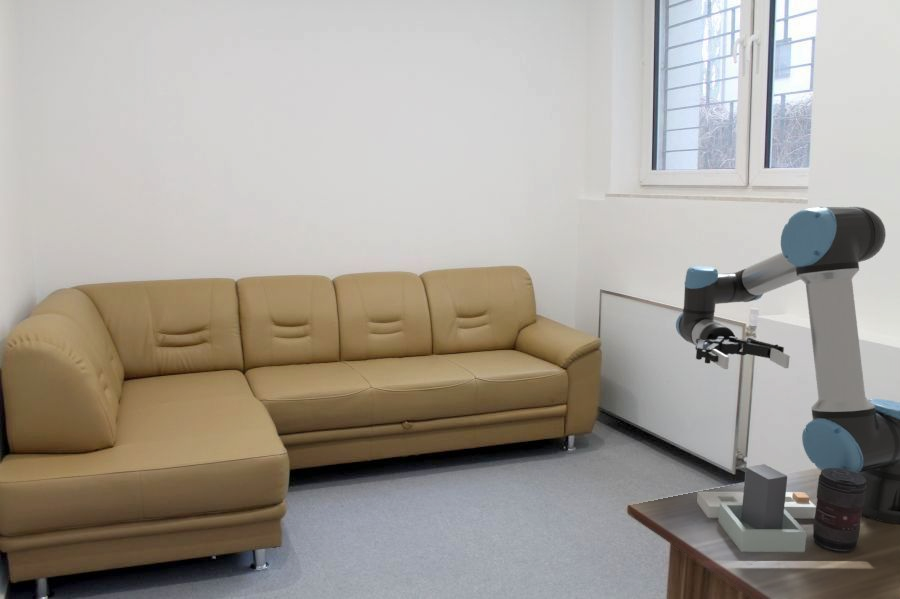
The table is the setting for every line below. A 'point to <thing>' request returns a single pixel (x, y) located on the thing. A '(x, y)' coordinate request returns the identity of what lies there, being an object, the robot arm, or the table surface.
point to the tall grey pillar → (764, 497)
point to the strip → (710, 502)
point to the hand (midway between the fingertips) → (757, 362)
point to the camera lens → (839, 509)
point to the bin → (761, 532)
